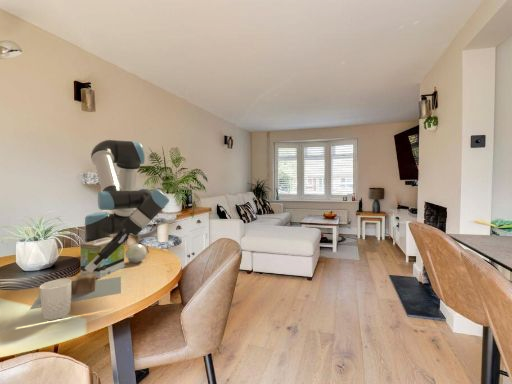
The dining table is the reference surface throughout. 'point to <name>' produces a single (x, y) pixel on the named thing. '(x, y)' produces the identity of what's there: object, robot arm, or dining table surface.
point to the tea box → (107, 265)
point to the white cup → (55, 298)
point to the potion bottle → (136, 253)
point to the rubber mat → (101, 289)
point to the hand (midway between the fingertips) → (88, 270)
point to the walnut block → (82, 283)
